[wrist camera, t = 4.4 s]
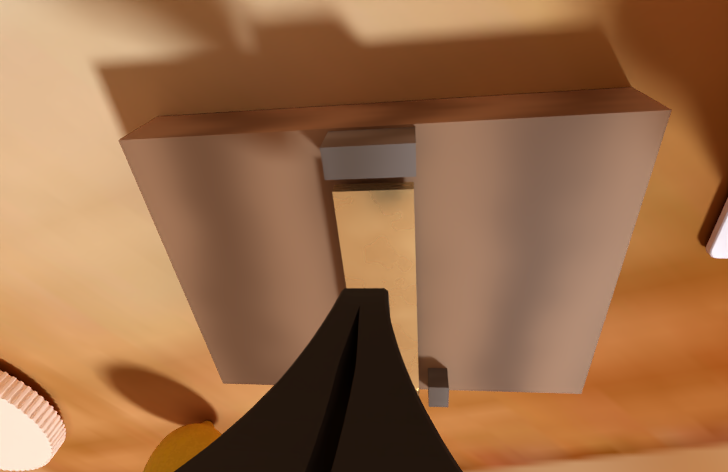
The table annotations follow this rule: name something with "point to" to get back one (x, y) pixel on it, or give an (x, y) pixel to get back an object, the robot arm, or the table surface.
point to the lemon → (181, 446)
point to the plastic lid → (26, 427)
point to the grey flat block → (432, 225)
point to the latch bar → (382, 253)
